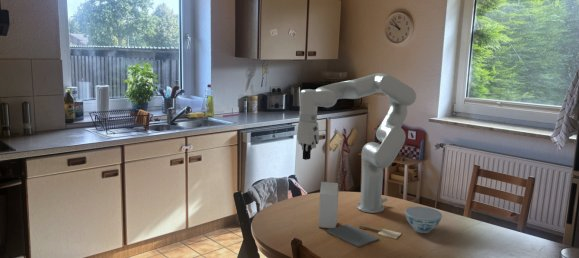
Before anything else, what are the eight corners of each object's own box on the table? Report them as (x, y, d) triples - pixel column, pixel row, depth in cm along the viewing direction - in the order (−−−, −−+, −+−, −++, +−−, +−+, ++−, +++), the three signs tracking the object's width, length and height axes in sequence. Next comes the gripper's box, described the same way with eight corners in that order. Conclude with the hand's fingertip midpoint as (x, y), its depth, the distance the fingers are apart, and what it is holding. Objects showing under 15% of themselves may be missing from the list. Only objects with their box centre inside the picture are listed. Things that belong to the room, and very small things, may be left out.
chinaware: (443, 227, 211) (445, 210, 209) (436, 240, 198) (437, 222, 196) (409, 220, 218) (410, 204, 216) (399, 232, 205) (400, 214, 203)
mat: (347, 225, 211) (347, 224, 211) (378, 239, 197) (379, 238, 197) (326, 231, 203) (326, 230, 203) (358, 247, 190) (358, 245, 189)
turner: (362, 224, 211) (363, 222, 211) (401, 234, 203) (401, 232, 203) (357, 229, 206) (357, 227, 206) (396, 239, 198) (396, 237, 198)
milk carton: (335, 229, 206) (337, 185, 203) (318, 227, 208) (320, 184, 204) (337, 222, 213) (339, 180, 209) (320, 221, 215) (322, 179, 211)
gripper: (326, 120, 210) (324, 161, 213) (303, 114, 221) (302, 154, 225) (312, 121, 205) (311, 164, 209) (290, 116, 217) (289, 156, 220)
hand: (306, 158), depth 217 cm, fingers closed
